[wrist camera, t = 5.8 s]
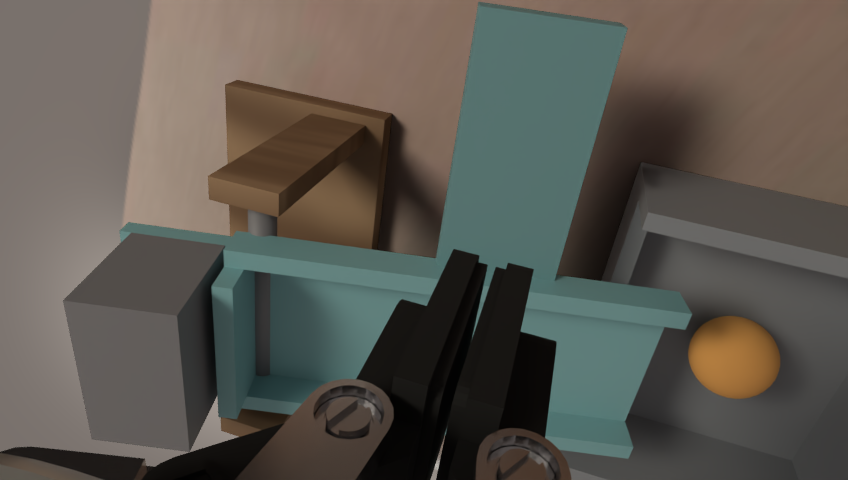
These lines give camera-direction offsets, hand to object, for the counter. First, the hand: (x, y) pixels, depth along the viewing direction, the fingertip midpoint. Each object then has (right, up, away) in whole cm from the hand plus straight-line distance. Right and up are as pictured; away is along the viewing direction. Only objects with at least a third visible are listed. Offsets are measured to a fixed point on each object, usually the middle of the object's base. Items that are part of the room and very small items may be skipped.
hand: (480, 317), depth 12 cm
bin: (+15, -3, +19) cm, 24 cm away
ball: (+14, -4, +17) cm, 22 cm away
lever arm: (-2, +2, +14) cm, 14 cm away
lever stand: (-8, +3, +23) cm, 25 cm away
